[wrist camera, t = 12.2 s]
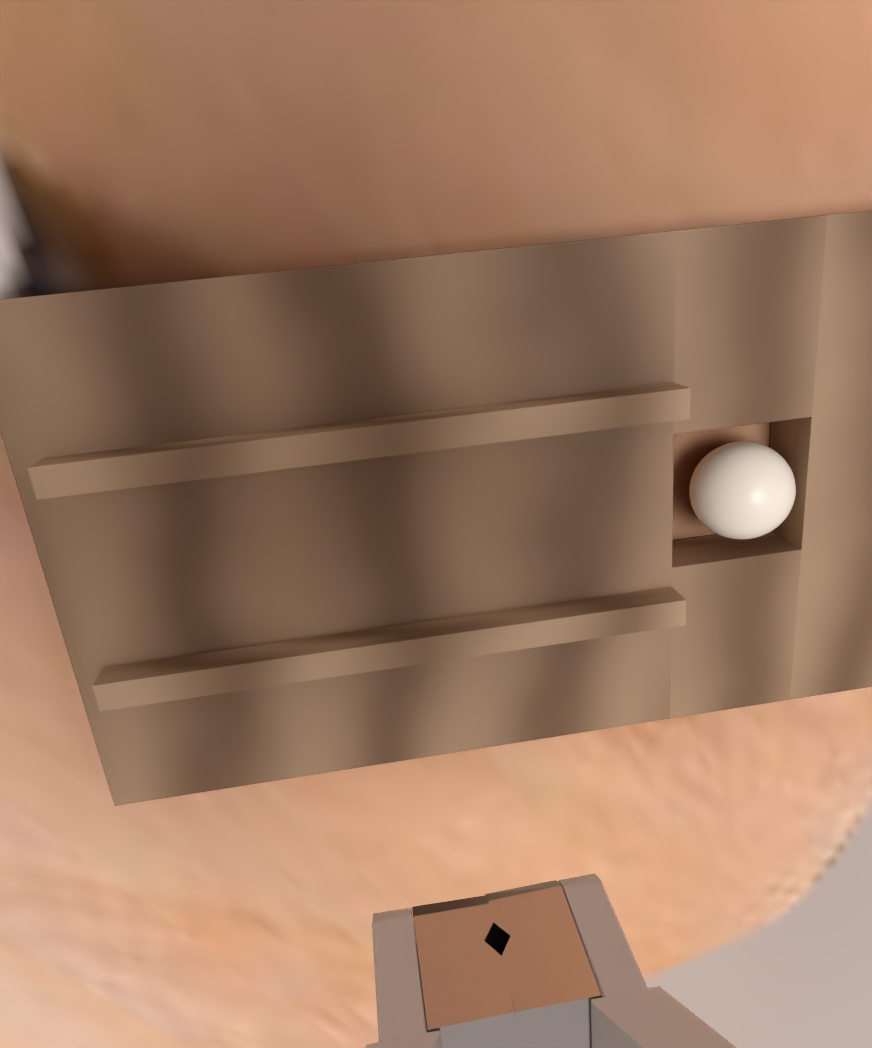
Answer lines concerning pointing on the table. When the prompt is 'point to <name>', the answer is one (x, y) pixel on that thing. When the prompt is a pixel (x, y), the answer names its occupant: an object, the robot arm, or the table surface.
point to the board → (441, 496)
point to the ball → (742, 490)
